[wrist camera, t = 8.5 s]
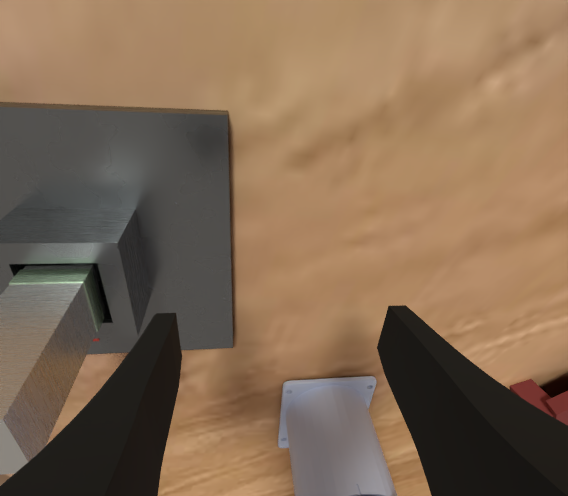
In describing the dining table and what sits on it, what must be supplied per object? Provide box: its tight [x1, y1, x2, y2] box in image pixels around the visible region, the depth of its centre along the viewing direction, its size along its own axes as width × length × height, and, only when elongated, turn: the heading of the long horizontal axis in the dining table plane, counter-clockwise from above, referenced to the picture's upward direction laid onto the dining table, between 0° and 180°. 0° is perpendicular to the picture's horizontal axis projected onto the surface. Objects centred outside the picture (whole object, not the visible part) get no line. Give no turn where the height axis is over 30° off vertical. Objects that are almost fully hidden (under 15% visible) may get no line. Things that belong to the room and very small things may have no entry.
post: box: [0, 265, 106, 474], centre depth 15 cm, size 3×3×8 cm
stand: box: [0, 102, 233, 354], centre depth 19 cm, size 16×16×4 cm
